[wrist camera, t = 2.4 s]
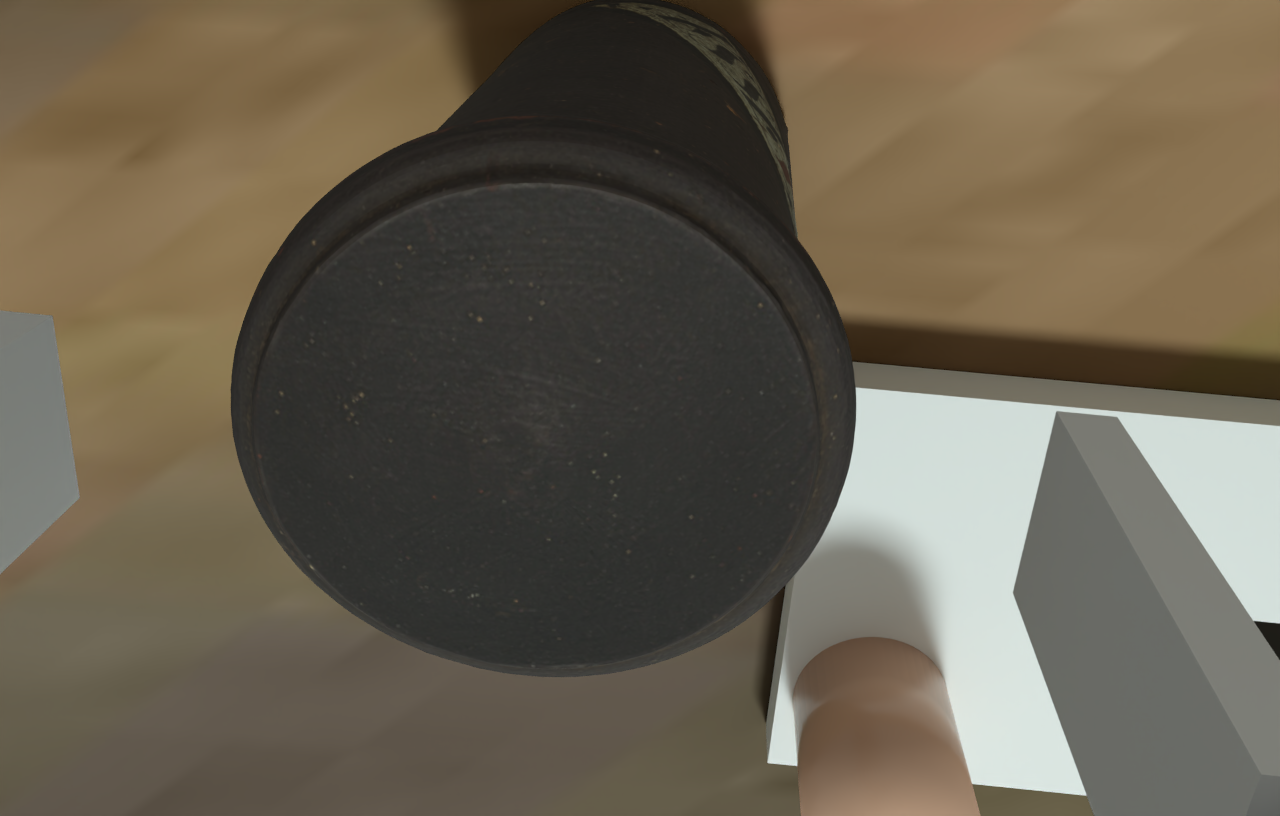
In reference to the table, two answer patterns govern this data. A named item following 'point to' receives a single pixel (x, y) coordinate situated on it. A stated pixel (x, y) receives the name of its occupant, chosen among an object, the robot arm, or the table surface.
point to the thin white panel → (1004, 540)
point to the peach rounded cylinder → (878, 734)
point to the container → (557, 361)
